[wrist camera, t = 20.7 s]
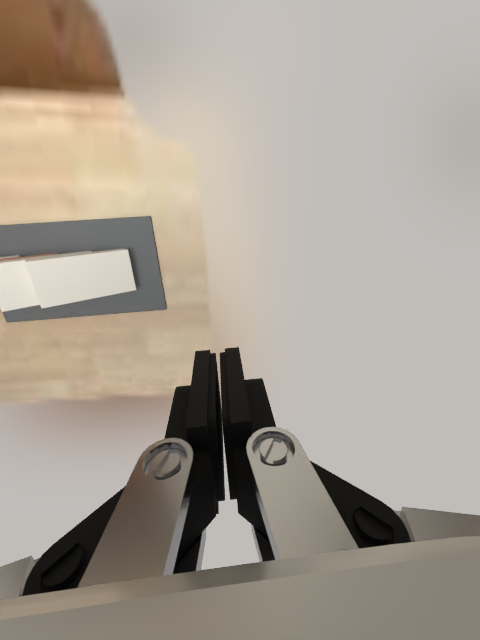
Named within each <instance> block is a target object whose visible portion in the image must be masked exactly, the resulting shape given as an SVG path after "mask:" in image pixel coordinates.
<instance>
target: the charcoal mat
mask: <svg viewBox="0 0 480 640" xmlns="http://www.w3.org/2000/svg"><path fill="white" fill-rule="evenodd" d="M122 248H125V249H128V253H129V257H130V262H131V267H132V272H133V277H134V282H135V286H136V290H134V291H129V292H124V293H119V294H114V295H109V296H103V297H98V298H93V299H88V300H83V301H78V302H73V303H68V304H63V305H58V306H52V307H47V308H42V309H41V306H40V305H36V306H31V307H25V308H20V309H15V310H10V311H5V312H3V314H4V317H5V319H6V322H19V321H31V320H43V319H55V318H67V317H80V316H92V315H104V314H116V313H128V312H140V311H152V310H165V309H167V308H166V302H165V296H164V291H163V285H162V279H161V273H160V267H159V262H158V256H157V250H156V244H155V238H154V232H153V227H152V221H151V216H146V217H130V218H114V219H98V220H82V221H66V222H50V223H34V224H17V225H1V226H0V257H5V256H15V255H20V257H23V256H32V255H41V254H50V253H57V254H65V253H73V252H82V251H92V252H96V251H104V250H113V249H122Z"/></svg>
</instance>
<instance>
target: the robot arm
mask: <svg viewBox="0 0 480 640" xmlns="http://www.w3.org/2000/svg"><path fill="white" fill-rule="evenodd" d="M220 369H221V370H220V371H221V400H222V410H221V400H220V391H219V381H218V371H217V362H216V353H212V354H210V350H205V351H196V352H195V359H194V366H193V374H192V381H191V385H189V386H179V387H176V389H175V393H174V398H173V403H172V407H171V412H170V416H169V421H168V425H167V430H166V434H165V439H163V440H160V441H157V442H156V443H154V444H152V445H151V446H149V447H148V448H147V449H146V450H145V451H144V452H143V453H142V455H141V456H140V458H139V459H138V461H137V464H136V465H135V468H134V470H133V472H132V474H131V476H130V478H129V481H128V482H127V485H126V486H125V487H124V488H123V489H121V490H120V491H119V492H118V493H116V494H115V495H114V496H113V497H111V498H110V499H109V500H108V501H107V502H105V503H104V504H103V505H102V506H100V507H99V508H98V509H97V510H95V511H94V512H93V513H92V514H90V515H89V516H88V517H87V518H86V519H84V520H83V521H82V522H81V523H79V524H78V525H77V526H76V527H74V528H73V529H72V530H71V531H69V532H68V533H67V534H66V535H64V536H63V537H62V538H61V539H59V540H58V541H57V542H56V543H54V544H53V545H52V546H51V547H50V548H49V549H48V550H47V551H46V552H45V553H44V554H43V555H42V556H41V558H39V559H36V560H34V559H33V557H32V556H29V557H27V558H24V559H21V560H18V561H15V562H13V563H10V564H7V565H4V566H2V567H0V640H480V516H478V515H470V514H461V513H451V512H443V511H435V510H426V509H417V508H408V507H402V510H401V511H393V510H392V509H391V508H390V507H388V506H387V505H386V504H384V503H383V502H381V501H380V500H378V499H376V498H374V497H373V496H371V495H369V494H367V493H366V492H364V491H362V490H360V489H359V488H357V487H355V486H353V485H352V484H350V483H348V482H346V481H345V480H343V479H341V478H339V477H338V476H336V475H334V474H332V473H331V472H329V471H327V470H325V469H323V468H322V467H320V466H318V465H317V464H315V463H313V462H311V461H310V460H309V459H308V457H307V455H306V453H305V452H304V450H303V448H302V446H301V444H300V443H299V441H298V440H297V438H296V437H295V436H294V435H293V434H292V433H290V432H289V431H287V430H284V429H282V428H277V427H276V425H275V421H274V418H273V414H272V411H271V407H270V404H269V400H268V397H267V393H266V390H265V386H264V382H263V379H261V378H260V379H250V380H244V376H243V370H242V364H241V358H240V353H239V348H238V347H237V348H226V349H225V352H223V353H220ZM222 423H223V431H222ZM223 435H224V444H225V454H226V462H227V473H228V482H229V492H230V499H237V502H238V513H239V514H240V515H241V516H243V517H244V518H245V519H246V520H247V521H249V522H250V523H251V526H252V533H253V537H254V540H255V544H256V548H257V552H258V556H259V560H260V562H258V563H250V564H243V565H236V566H229V567H222V568H215V569H207V570H201V565H202V558H203V552H204V546H205V539H206V527H207V526H208V525H209V523H210V522H211V521H212V520H213V519H214V518H215V516H216V514H218V501H224V500H225V489H224V463H223V461H224V460H223Z"/></svg>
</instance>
